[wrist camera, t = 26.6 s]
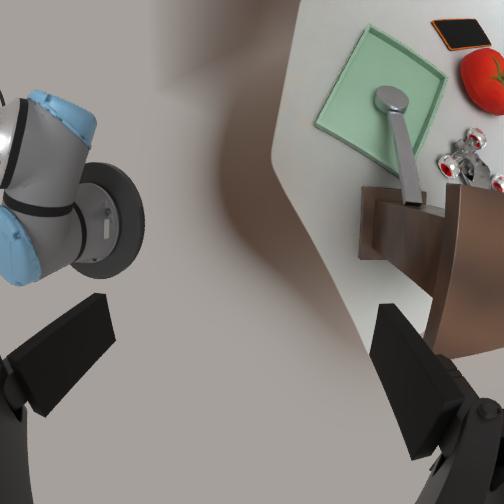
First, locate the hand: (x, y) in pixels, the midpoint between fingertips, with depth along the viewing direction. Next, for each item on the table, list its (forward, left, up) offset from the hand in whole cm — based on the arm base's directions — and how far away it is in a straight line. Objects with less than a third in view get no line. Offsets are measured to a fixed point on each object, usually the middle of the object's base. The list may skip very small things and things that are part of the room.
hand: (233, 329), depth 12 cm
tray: (+8, +29, -35) cm, 46 cm away
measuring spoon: (+11, +21, -28) cm, 37 cm away
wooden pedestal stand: (+19, +10, -35) cm, 41 cm away
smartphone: (+18, +58, -35) cm, 70 cm away
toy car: (+30, +27, -35) cm, 53 cm away
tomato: (+25, +46, -35) cm, 63 cm away
